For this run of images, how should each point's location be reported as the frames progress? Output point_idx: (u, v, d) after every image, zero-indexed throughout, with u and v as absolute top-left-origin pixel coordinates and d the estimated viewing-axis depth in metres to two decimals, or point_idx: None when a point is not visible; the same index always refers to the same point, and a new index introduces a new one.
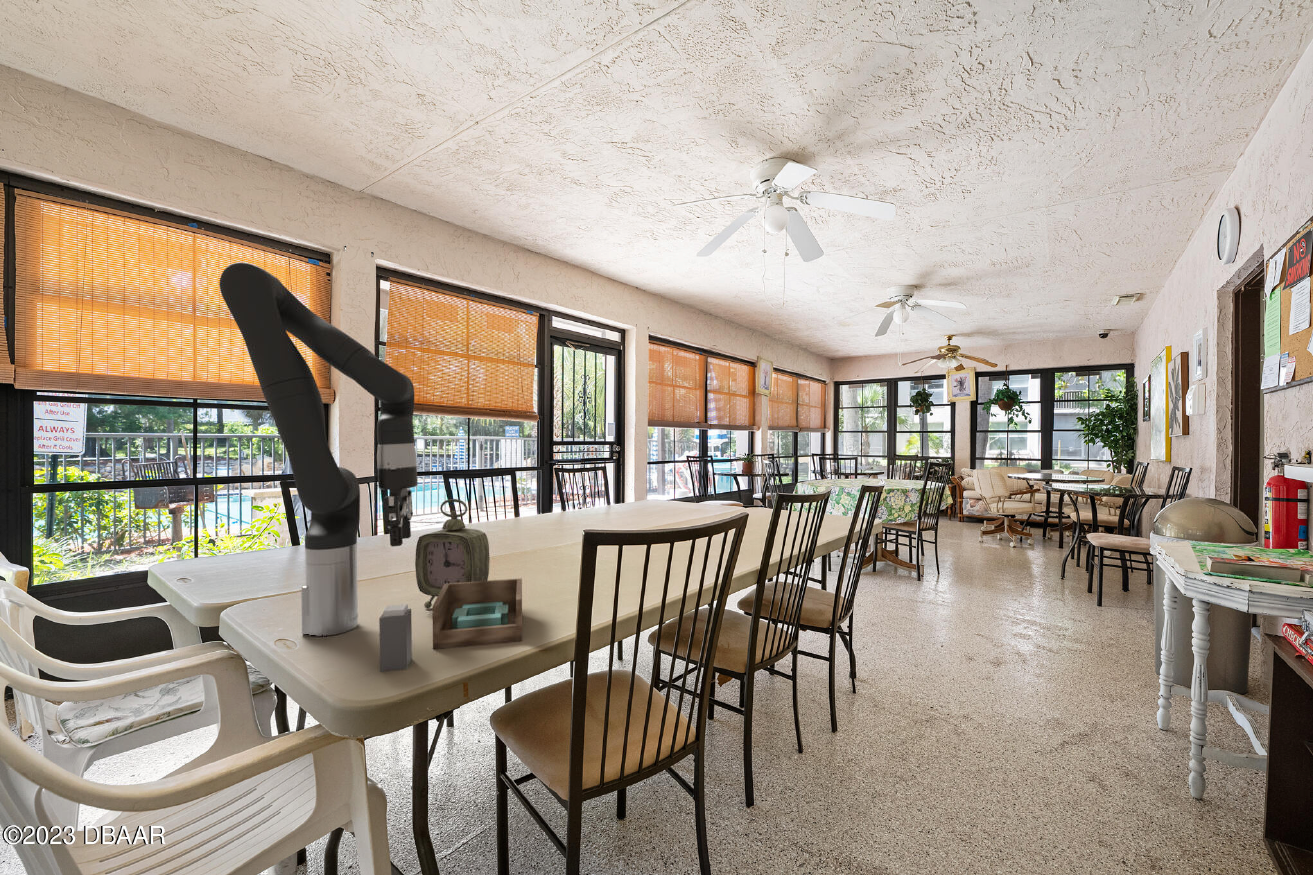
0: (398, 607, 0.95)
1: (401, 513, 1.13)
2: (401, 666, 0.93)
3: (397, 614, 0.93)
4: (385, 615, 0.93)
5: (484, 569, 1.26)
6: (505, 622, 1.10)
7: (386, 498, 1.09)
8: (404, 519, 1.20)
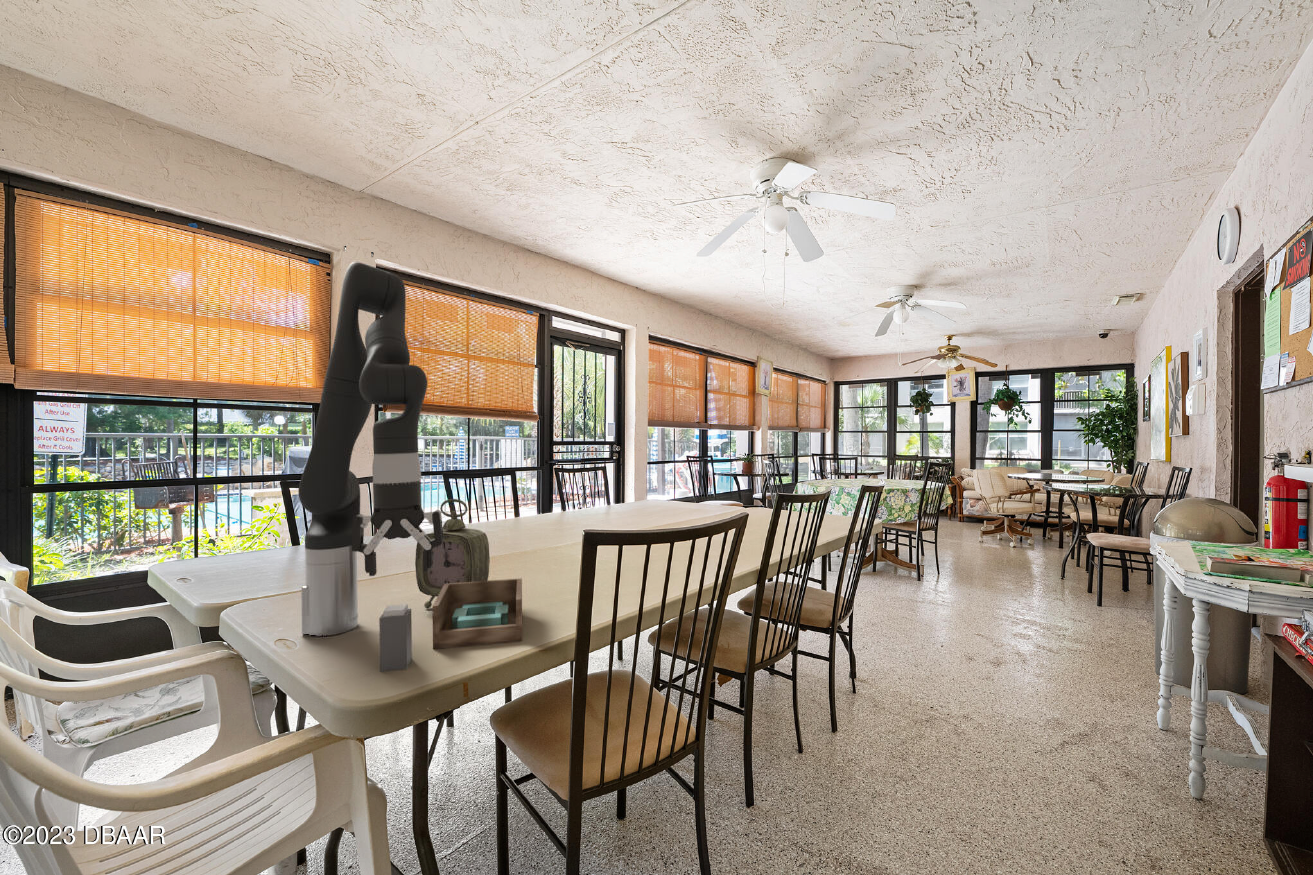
0: (398, 607, 0.95)
1: (424, 532, 0.97)
2: (401, 666, 0.93)
3: (397, 614, 0.93)
4: (385, 615, 0.93)
5: (484, 569, 1.26)
6: (505, 622, 1.10)
7: (439, 513, 0.96)
8: (373, 550, 0.94)
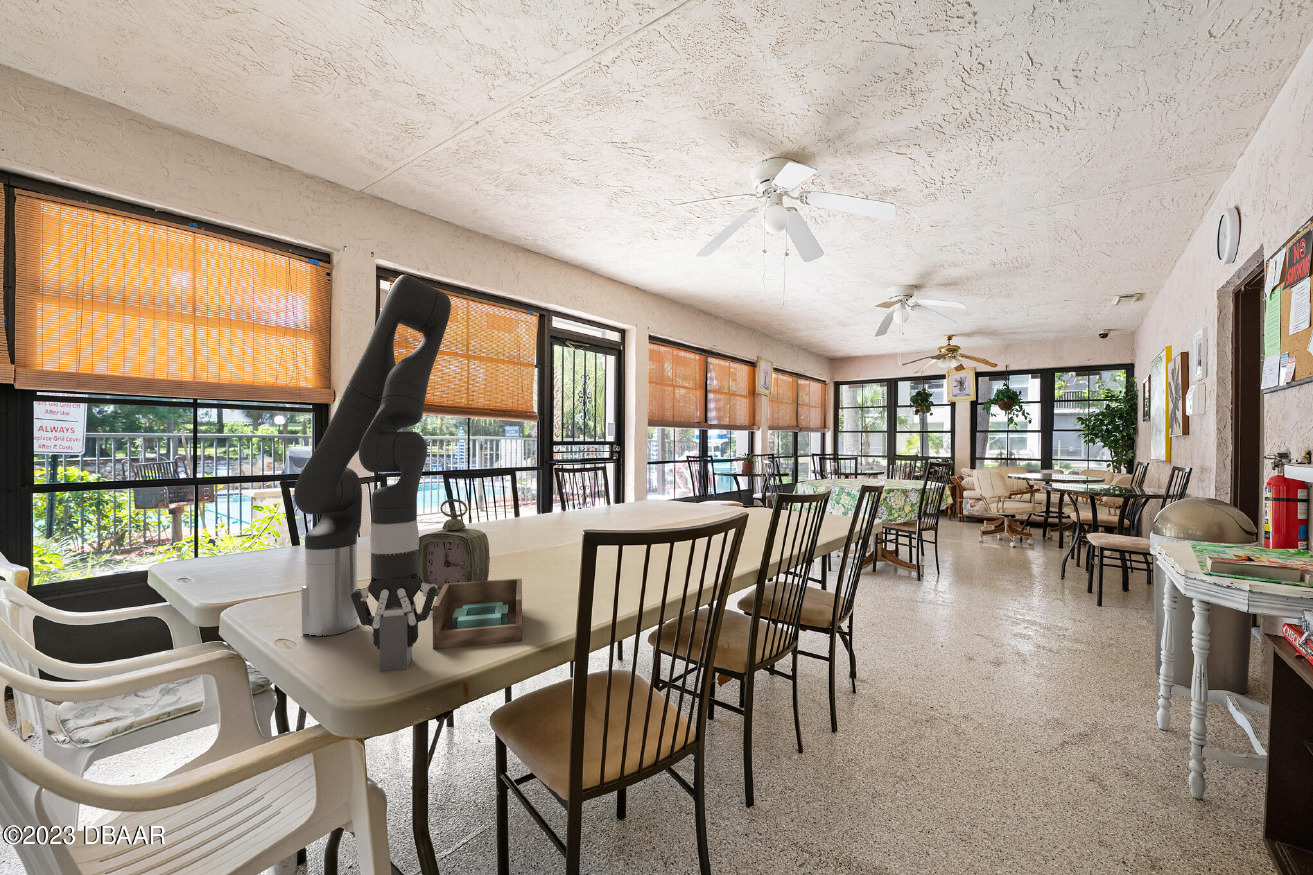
0: (398, 607, 0.95)
1: (414, 604, 0.96)
2: (401, 666, 0.93)
3: (397, 614, 0.93)
4: (385, 615, 0.93)
5: (484, 569, 1.26)
6: (505, 622, 1.10)
7: (436, 589, 0.95)
8: None
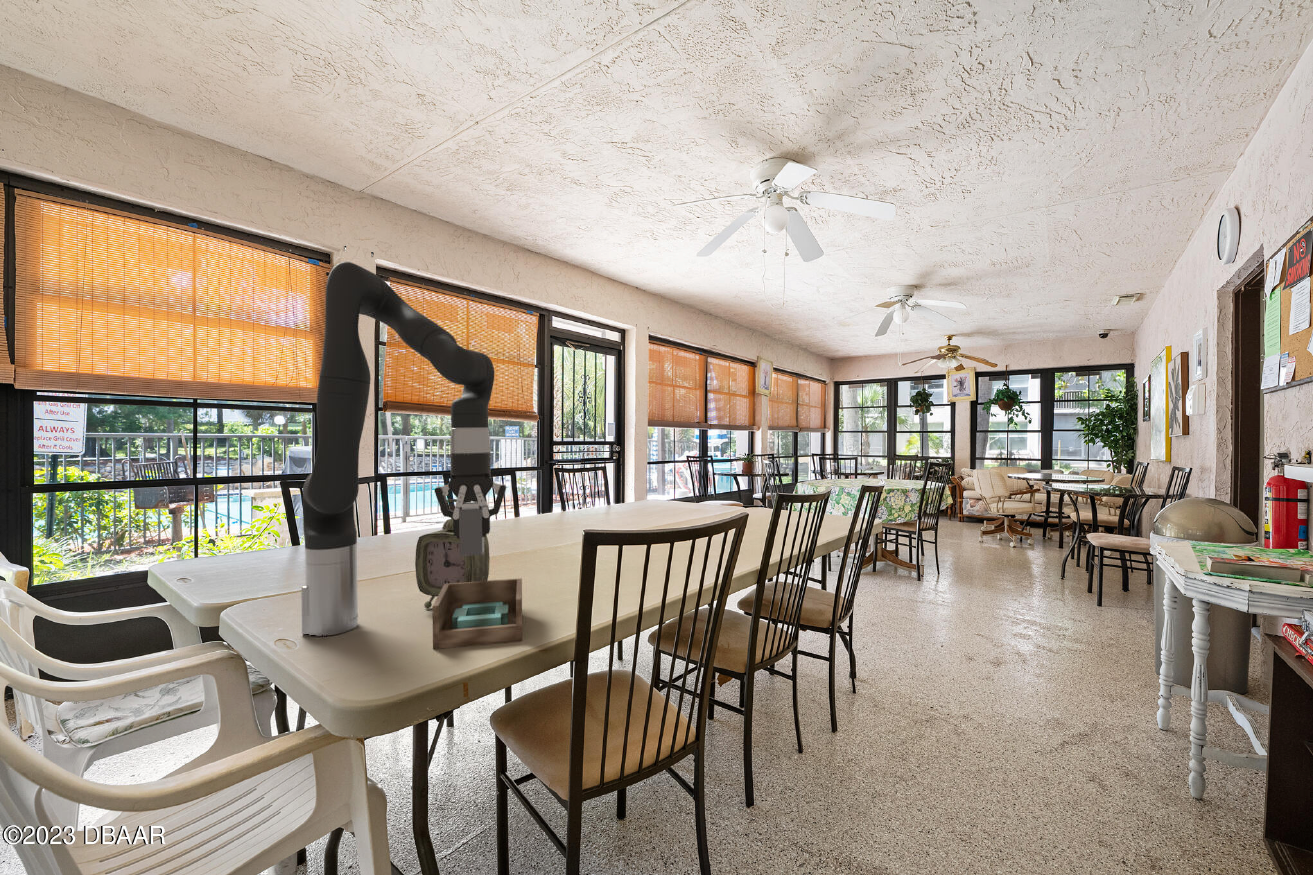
0: (473, 502, 1.09)
1: None
2: (477, 552, 1.07)
3: (473, 507, 1.08)
4: (463, 508, 1.07)
5: (484, 569, 1.26)
6: (505, 622, 1.10)
7: (505, 487, 1.10)
8: None
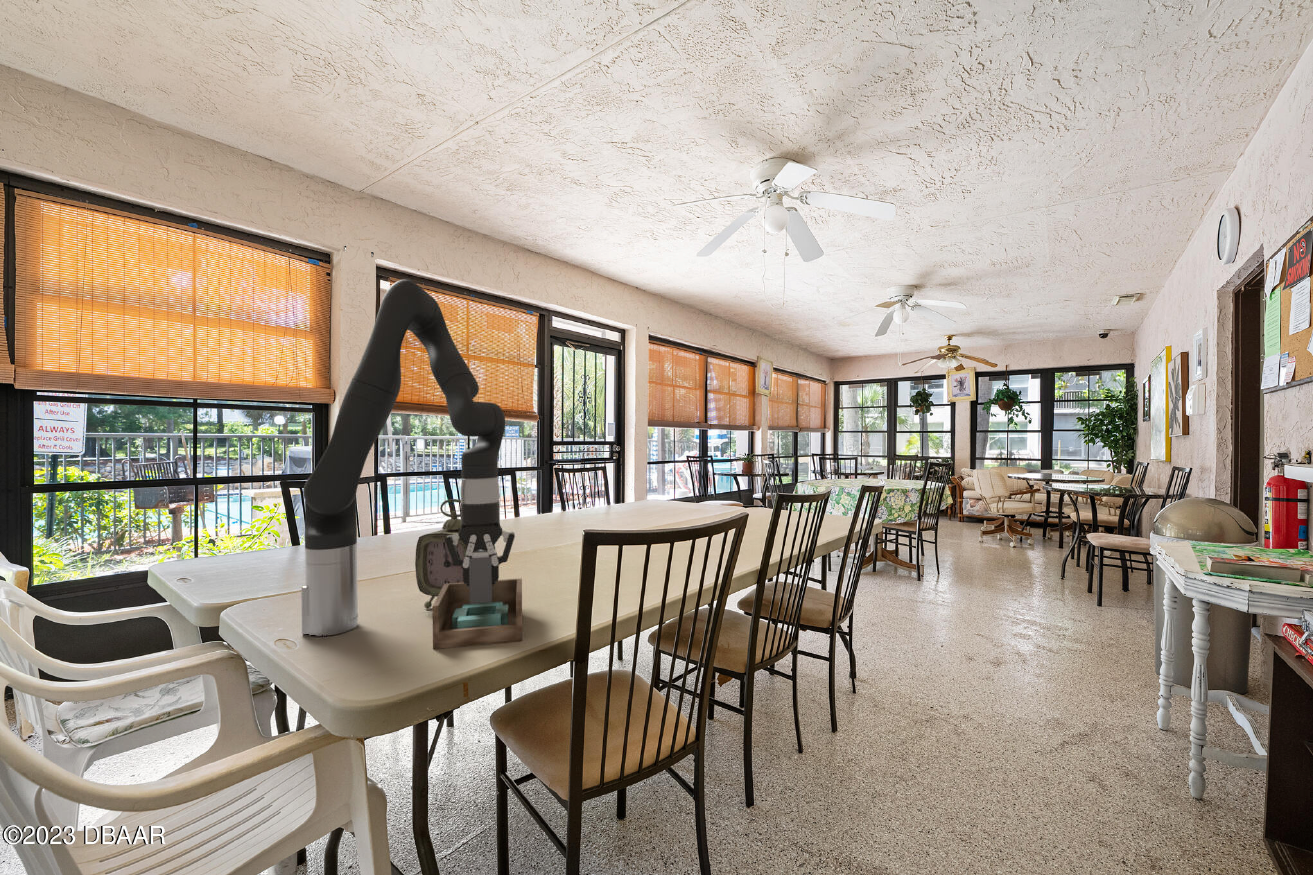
0: (482, 550, 1.12)
1: (495, 549, 1.13)
2: (487, 600, 1.10)
3: (483, 556, 1.10)
4: (473, 556, 1.10)
5: None
6: (505, 622, 1.10)
7: (514, 536, 1.12)
8: None
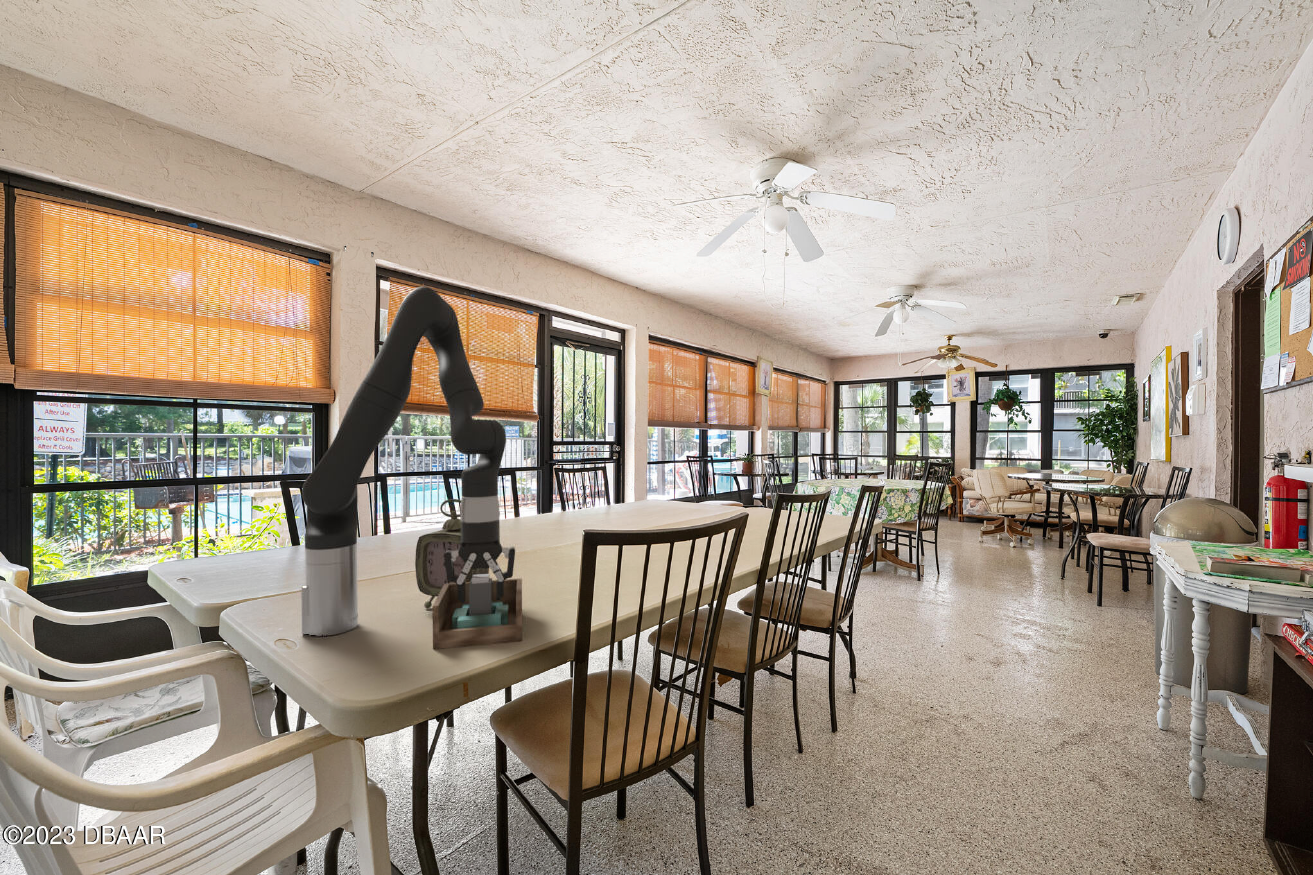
0: (482, 575, 1.12)
1: (498, 565, 1.13)
2: None
3: (483, 581, 1.10)
4: (473, 582, 1.10)
5: (484, 569, 1.26)
6: (505, 622, 1.10)
7: (514, 550, 1.12)
8: (463, 581, 1.11)
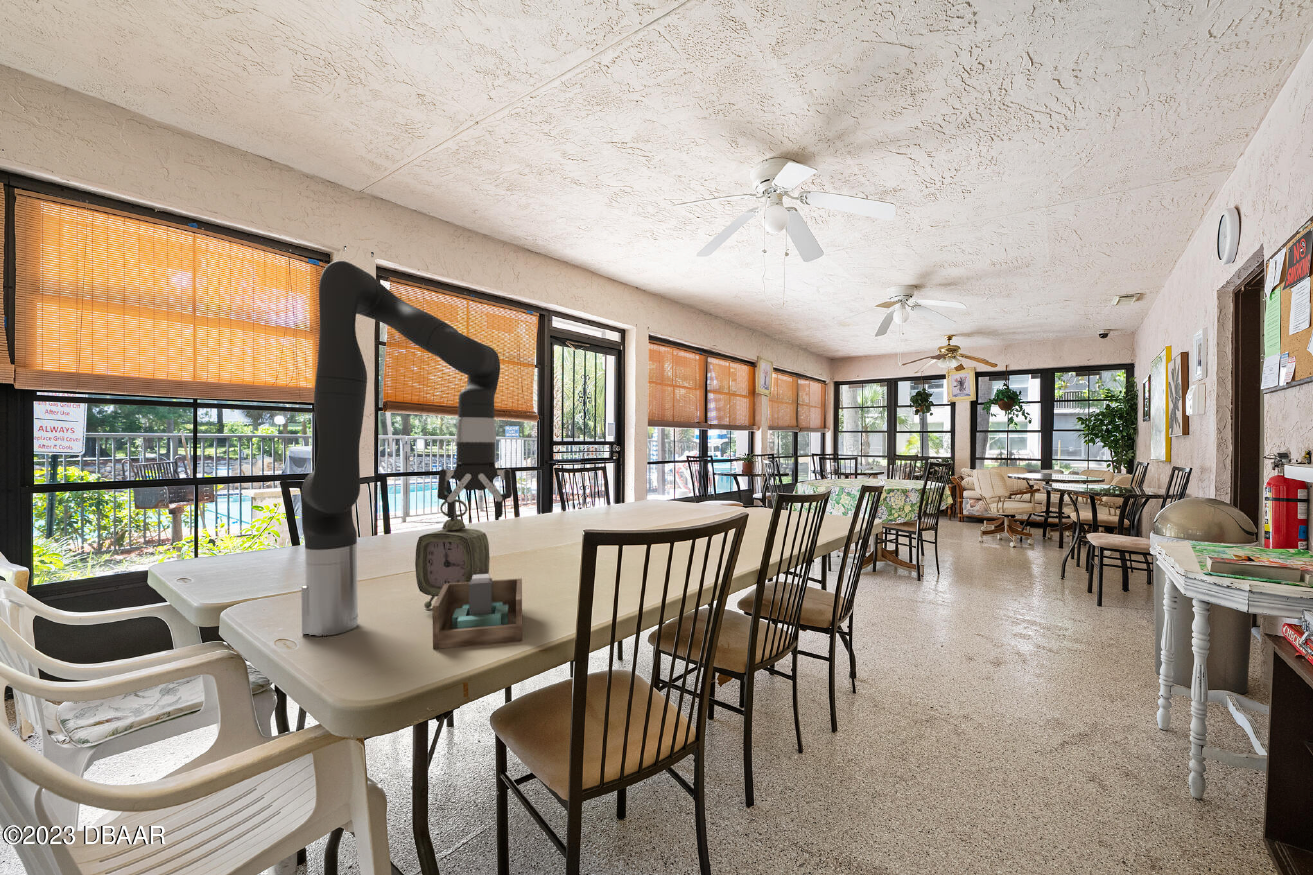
0: (482, 575, 1.12)
1: None
2: None
3: (483, 581, 1.10)
4: (473, 582, 1.10)
5: (484, 569, 1.26)
6: (505, 622, 1.10)
7: (510, 470, 1.12)
8: (454, 500, 1.11)
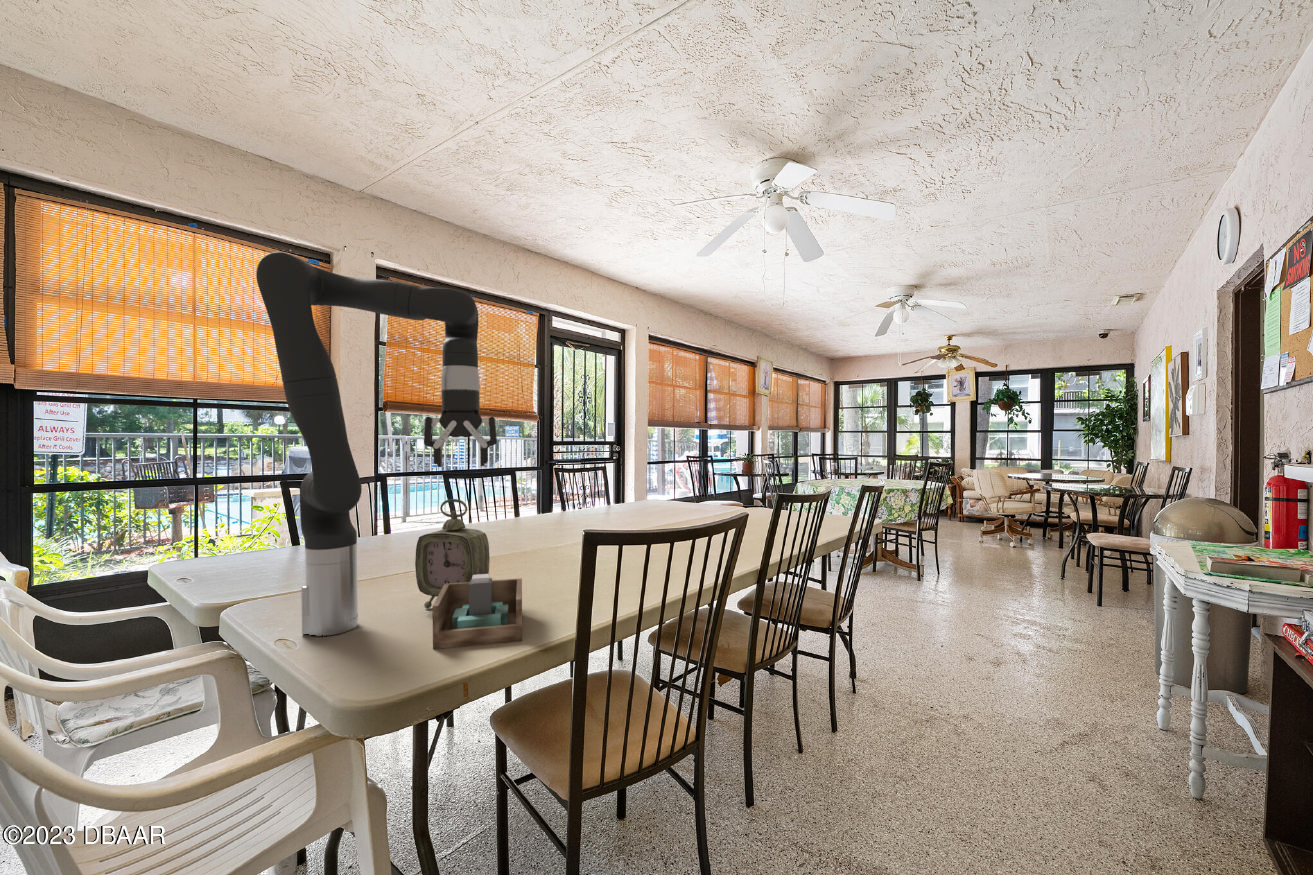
0: (482, 575, 1.12)
1: None
2: None
3: (483, 581, 1.10)
4: (473, 582, 1.10)
5: (484, 569, 1.26)
6: (505, 622, 1.10)
7: (494, 418, 1.16)
8: (440, 446, 1.14)
